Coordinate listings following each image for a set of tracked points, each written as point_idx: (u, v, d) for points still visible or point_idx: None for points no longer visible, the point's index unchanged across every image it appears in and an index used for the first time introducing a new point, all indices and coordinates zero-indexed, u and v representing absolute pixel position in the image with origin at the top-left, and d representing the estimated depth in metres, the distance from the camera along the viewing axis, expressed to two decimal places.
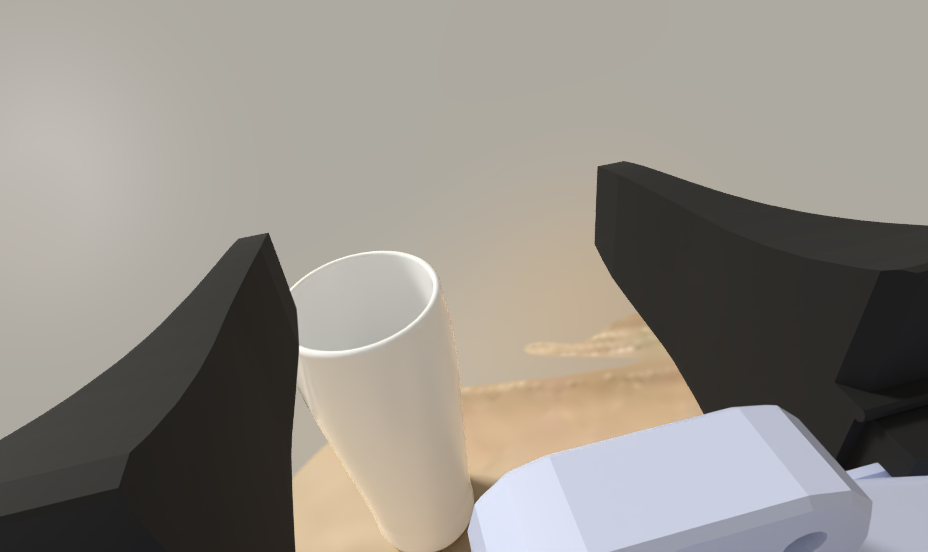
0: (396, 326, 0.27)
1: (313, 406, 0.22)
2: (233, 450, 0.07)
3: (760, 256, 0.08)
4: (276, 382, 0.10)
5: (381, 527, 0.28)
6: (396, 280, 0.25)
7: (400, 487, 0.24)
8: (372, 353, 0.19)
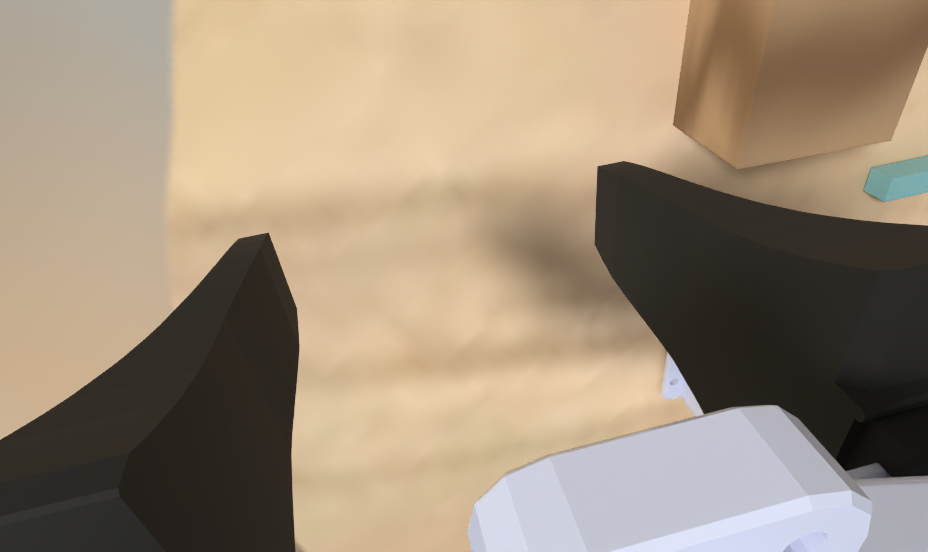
0: None
1: None
2: (233, 450, 0.07)
3: (760, 256, 0.08)
4: (276, 382, 0.10)
5: None
6: None
7: None
8: None
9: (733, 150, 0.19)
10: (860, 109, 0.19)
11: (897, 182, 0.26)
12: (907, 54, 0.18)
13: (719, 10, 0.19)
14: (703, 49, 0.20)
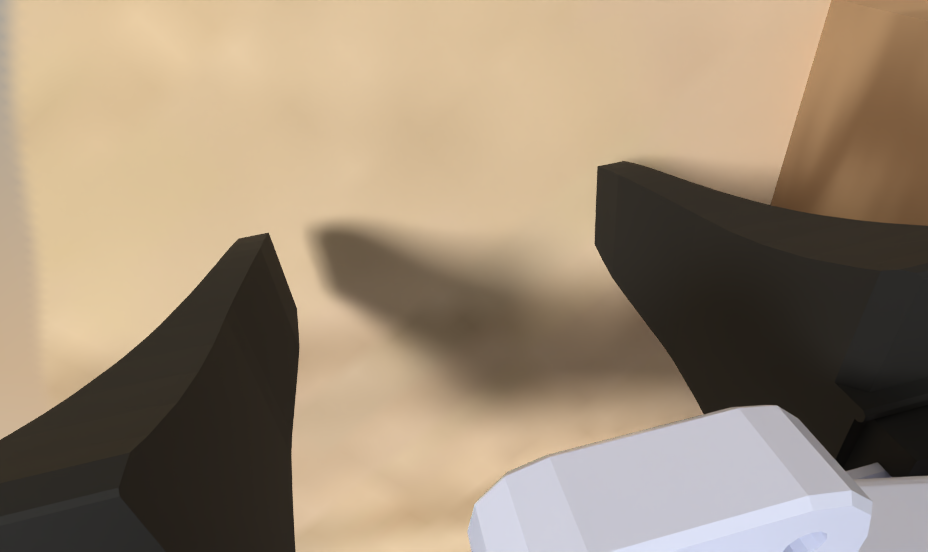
0: None
1: None
2: (233, 450, 0.07)
3: (760, 256, 0.08)
4: (276, 382, 0.10)
5: None
6: None
7: None
8: None
9: None
10: None
11: None
12: None
13: (872, 82, 0.12)
14: (832, 133, 0.13)
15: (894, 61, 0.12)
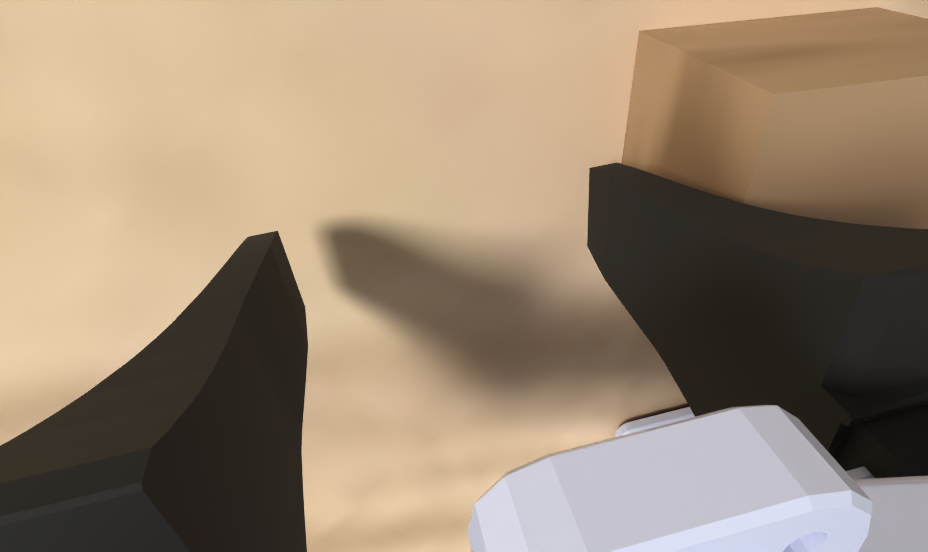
0: None
1: None
2: (247, 447, 0.07)
3: (748, 259, 0.08)
4: (286, 380, 0.10)
5: None
6: None
7: None
8: None
9: None
10: None
11: None
12: None
13: (673, 123, 0.12)
14: None
15: (687, 103, 0.11)
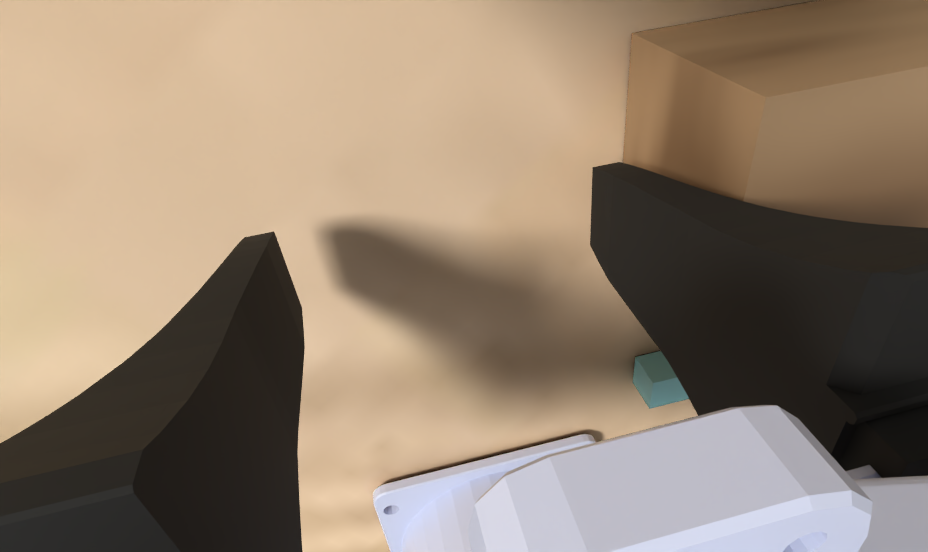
0: None
1: None
2: (241, 448, 0.07)
3: (753, 258, 0.08)
4: (282, 381, 0.10)
5: None
6: None
7: None
8: None
9: None
10: None
11: (662, 386, 0.18)
12: None
13: (670, 125, 0.11)
14: None
15: (682, 105, 0.11)
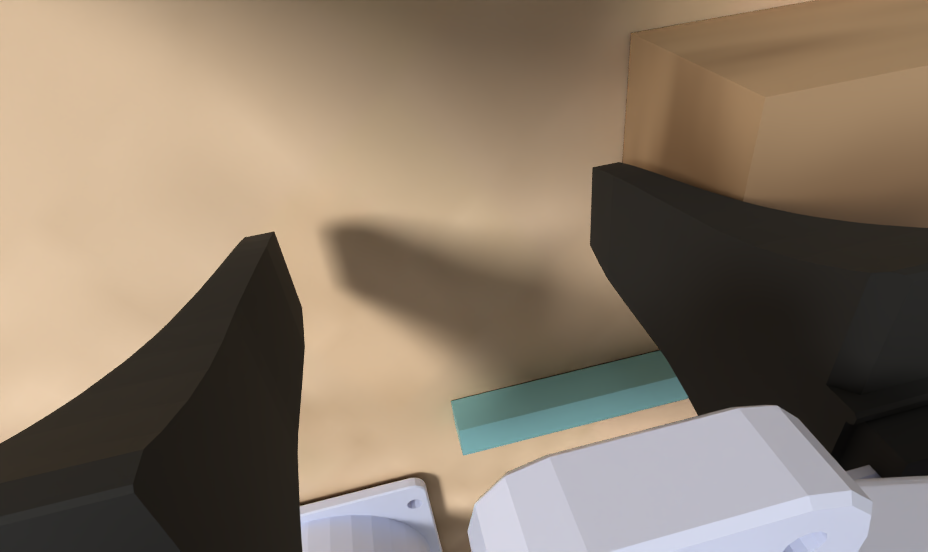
0: None
1: None
2: (242, 448, 0.07)
3: (753, 258, 0.08)
4: (282, 381, 0.10)
5: None
6: None
7: None
8: None
9: None
10: None
11: (471, 433, 0.17)
12: None
13: (669, 125, 0.11)
14: None
15: (681, 105, 0.11)
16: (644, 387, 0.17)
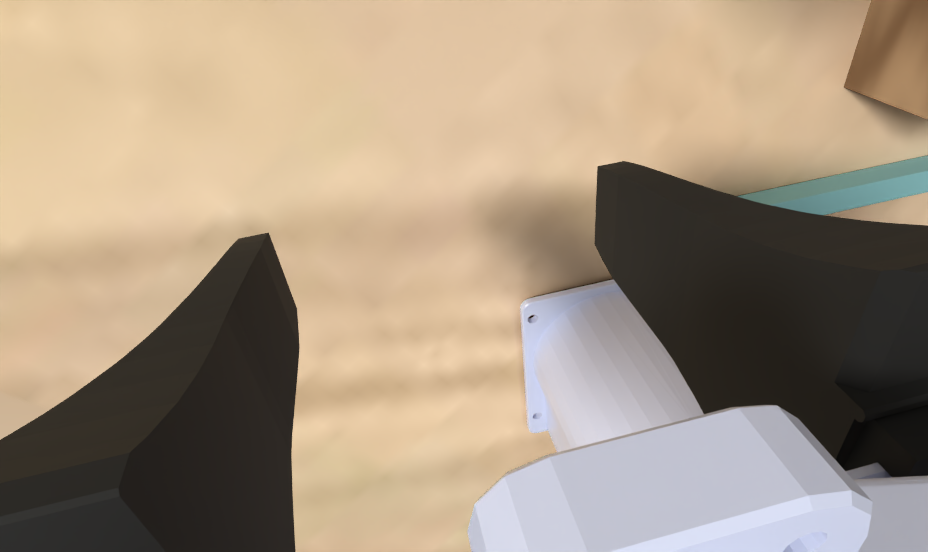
0: None
1: None
2: (233, 450, 0.07)
3: (760, 256, 0.08)
4: (276, 382, 0.10)
5: None
6: None
7: None
8: None
9: None
10: None
11: None
12: None
13: None
14: (897, 8, 0.21)
15: None
16: (850, 190, 0.25)
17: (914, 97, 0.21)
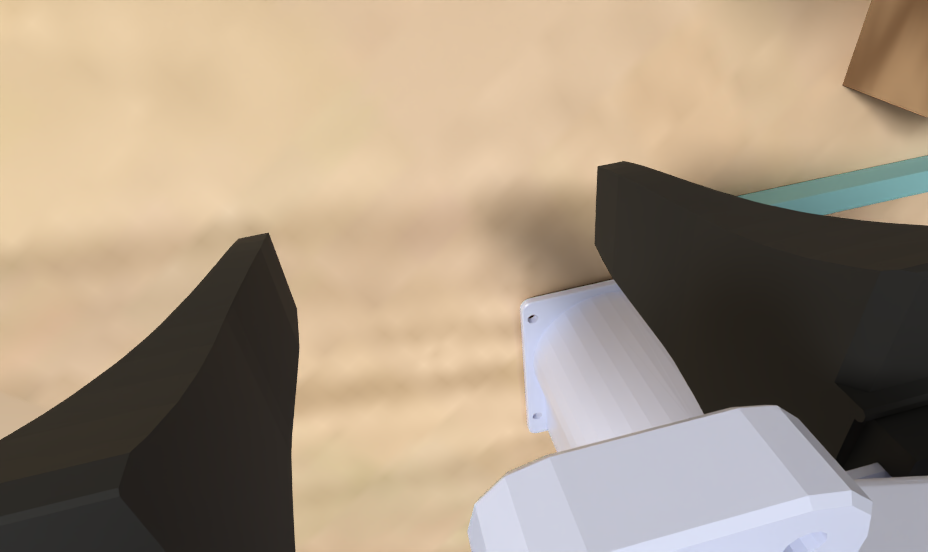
0: None
1: None
2: (233, 450, 0.07)
3: (760, 256, 0.08)
4: (276, 382, 0.10)
5: None
6: None
7: None
8: None
9: None
10: None
11: None
12: None
13: None
14: (898, 5, 0.21)
15: None
16: (850, 190, 0.25)
17: (913, 95, 0.21)
